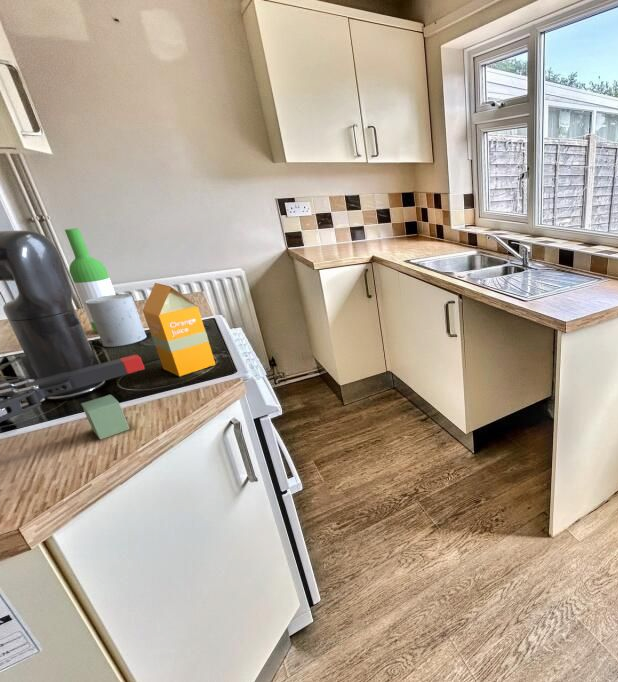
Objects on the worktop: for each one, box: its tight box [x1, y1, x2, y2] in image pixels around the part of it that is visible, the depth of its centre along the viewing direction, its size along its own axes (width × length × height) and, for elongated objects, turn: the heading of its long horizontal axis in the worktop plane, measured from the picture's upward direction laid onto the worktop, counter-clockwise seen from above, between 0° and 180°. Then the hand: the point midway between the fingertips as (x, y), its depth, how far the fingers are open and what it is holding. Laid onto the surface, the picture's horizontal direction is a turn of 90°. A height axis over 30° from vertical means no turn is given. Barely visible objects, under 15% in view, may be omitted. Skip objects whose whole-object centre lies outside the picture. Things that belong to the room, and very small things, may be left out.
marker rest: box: [80, 394, 131, 440], centre depth 74 cm, size 4×5×6 cm
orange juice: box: [142, 282, 216, 377], centre depth 97 cm, size 8×9×20 cm
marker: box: [25, 354, 145, 389], centre depth 71 cm, size 14×2×2 cm, turn 144°
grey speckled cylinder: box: [85, 293, 147, 348], centre depth 117 cm, size 10×10×12 cm
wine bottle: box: [64, 228, 117, 333], centre depth 124 cm, size 8×8×30 cm
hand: (71, 380), depth 69 cm, fingers closed on marker, 2 cm apart
